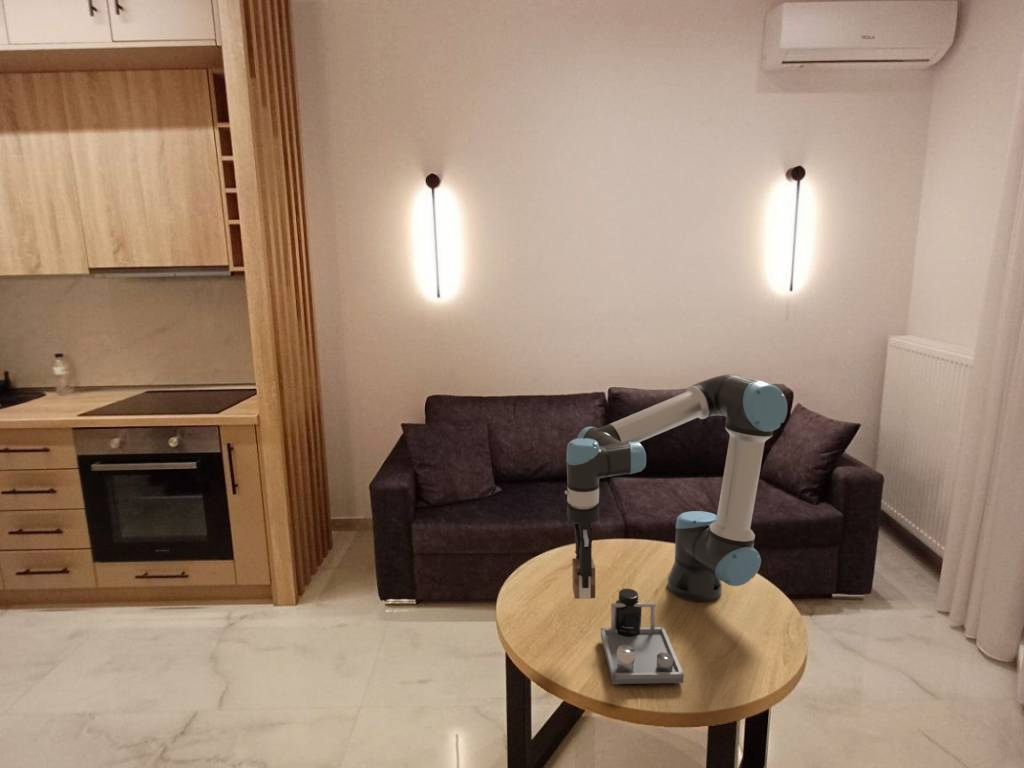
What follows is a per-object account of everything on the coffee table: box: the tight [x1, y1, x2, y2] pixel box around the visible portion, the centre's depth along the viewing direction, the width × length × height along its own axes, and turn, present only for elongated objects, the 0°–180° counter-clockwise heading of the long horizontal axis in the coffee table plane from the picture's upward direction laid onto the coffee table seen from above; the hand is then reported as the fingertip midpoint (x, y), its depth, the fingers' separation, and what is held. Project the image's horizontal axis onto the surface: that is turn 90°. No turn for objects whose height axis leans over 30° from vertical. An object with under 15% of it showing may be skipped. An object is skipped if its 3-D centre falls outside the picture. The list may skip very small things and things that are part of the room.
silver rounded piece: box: [617, 645, 635, 673], centre depth 141 cm, size 4×4×5 cm
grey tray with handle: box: [600, 602, 685, 686], centre depth 147 cm, size 16×18×10 cm
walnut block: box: [571, 557, 596, 600], centre depth 151 cm, size 5×5×8 cm
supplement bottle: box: [615, 588, 643, 637], centre depth 156 cm, size 7×7×12 cm
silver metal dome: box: [656, 653, 673, 672], centre depth 141 cm, size 4×4×3 cm
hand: (583, 591), depth 152 cm, fingers closed on walnut block, 5 cm apart
